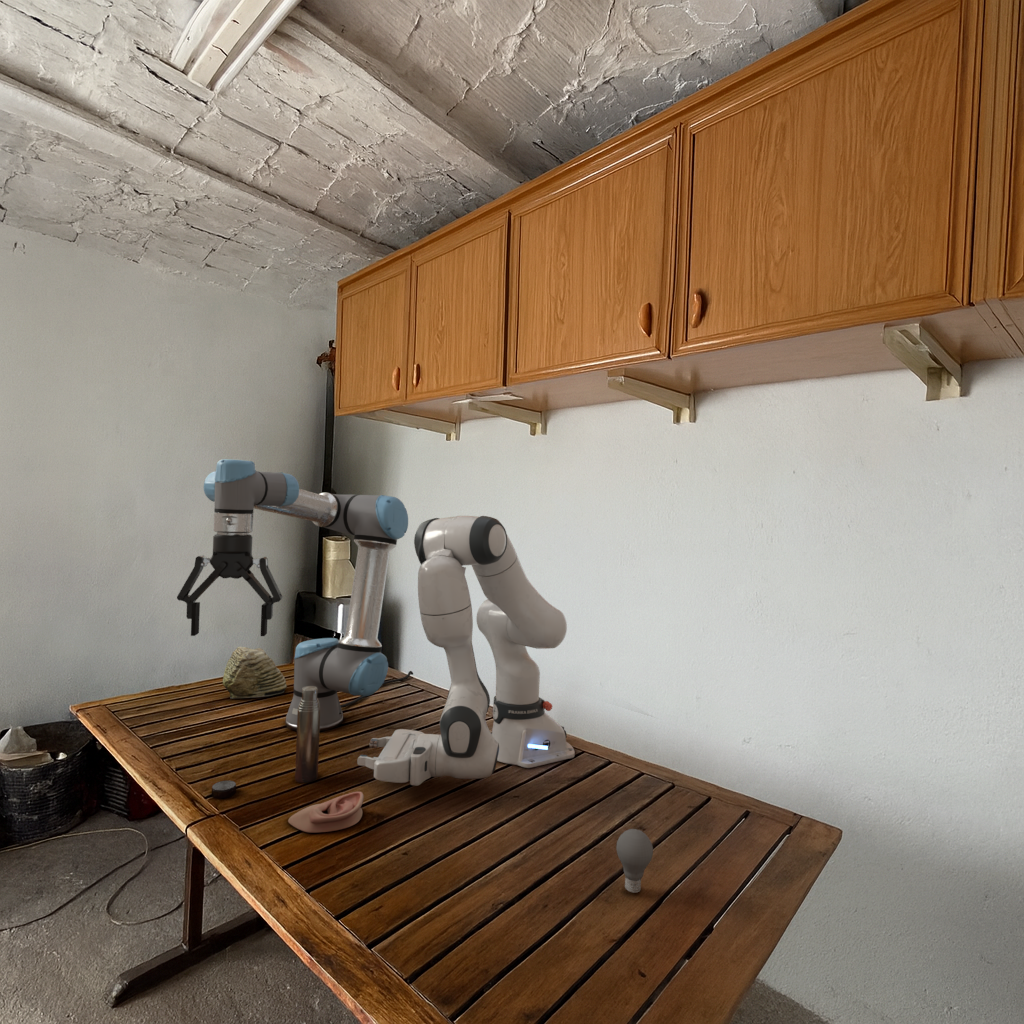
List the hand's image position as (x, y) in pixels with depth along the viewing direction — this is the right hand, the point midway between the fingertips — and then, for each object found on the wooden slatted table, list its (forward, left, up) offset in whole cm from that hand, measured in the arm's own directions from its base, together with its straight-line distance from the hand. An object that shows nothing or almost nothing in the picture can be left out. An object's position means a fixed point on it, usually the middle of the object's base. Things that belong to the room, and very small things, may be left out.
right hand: (364, 751), depth 142 cm
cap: (+29, -2, -5) cm, 29 cm away
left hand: (+28, -3, +27) cm, 39 cm away
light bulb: (-36, +53, -7) cm, 65 cm away
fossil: (+23, -70, -7) cm, 74 cm away
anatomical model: (+9, +15, -7) cm, 19 cm away
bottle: (+12, -5, -7) cm, 15 cm away
